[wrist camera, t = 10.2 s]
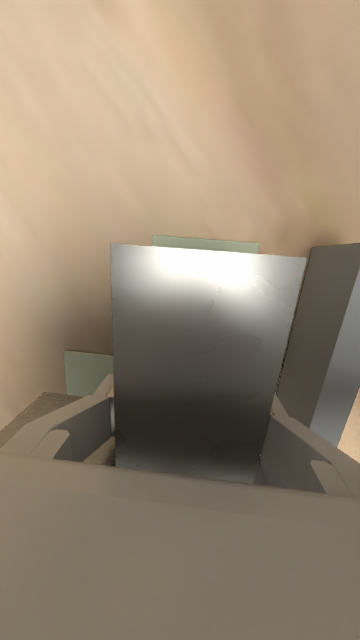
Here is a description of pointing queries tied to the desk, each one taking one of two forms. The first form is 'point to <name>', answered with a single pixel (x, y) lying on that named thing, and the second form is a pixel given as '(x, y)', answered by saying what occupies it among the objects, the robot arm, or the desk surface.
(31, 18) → the desk surface
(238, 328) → the bracket
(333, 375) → the corner walls
